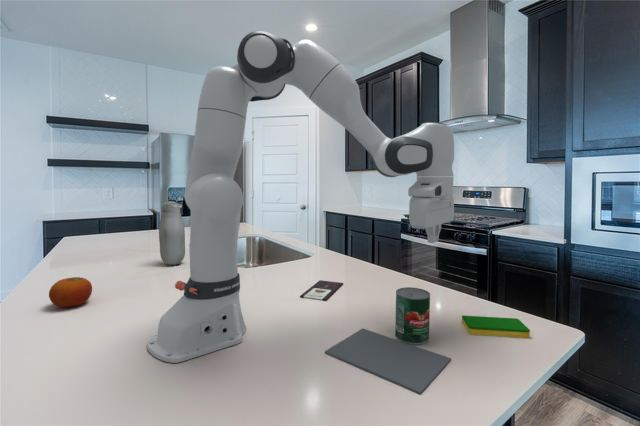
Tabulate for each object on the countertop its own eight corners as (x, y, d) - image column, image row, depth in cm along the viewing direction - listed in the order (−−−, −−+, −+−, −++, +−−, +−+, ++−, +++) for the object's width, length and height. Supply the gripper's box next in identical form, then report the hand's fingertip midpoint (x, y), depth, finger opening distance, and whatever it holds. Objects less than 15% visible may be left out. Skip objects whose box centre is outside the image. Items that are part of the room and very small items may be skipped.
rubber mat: (420, 394, 60) (420, 392, 60) (324, 353, 74) (324, 351, 74) (451, 360, 71) (451, 358, 71) (362, 329, 86) (362, 328, 86)
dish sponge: (461, 323, 90) (461, 314, 90) (517, 327, 88) (518, 318, 88) (468, 336, 83) (469, 326, 83) (530, 340, 81) (530, 330, 81)
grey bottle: (165, 262, 155) (162, 200, 152) (188, 261, 156) (185, 200, 153) (157, 267, 145) (153, 202, 142) (182, 266, 146) (179, 201, 143)
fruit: (41, 308, 100) (39, 282, 99) (77, 297, 109) (75, 272, 109) (66, 313, 96) (64, 286, 95) (101, 301, 106) (99, 276, 105)
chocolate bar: (343, 282, 122) (326, 299, 106) (343, 285, 122) (326, 302, 106) (319, 280, 125) (299, 295, 109) (319, 282, 126) (299, 298, 109)
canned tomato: (406, 326, 87) (407, 285, 86) (435, 336, 82) (436, 292, 81) (388, 336, 82) (389, 292, 81) (418, 348, 76) (419, 300, 75)
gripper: (438, 187, 96) (436, 235, 98) (404, 189, 81) (403, 246, 82) (461, 187, 92) (459, 237, 94) (430, 189, 77) (428, 250, 78)
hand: (433, 242), depth 88 cm, fingers closed
